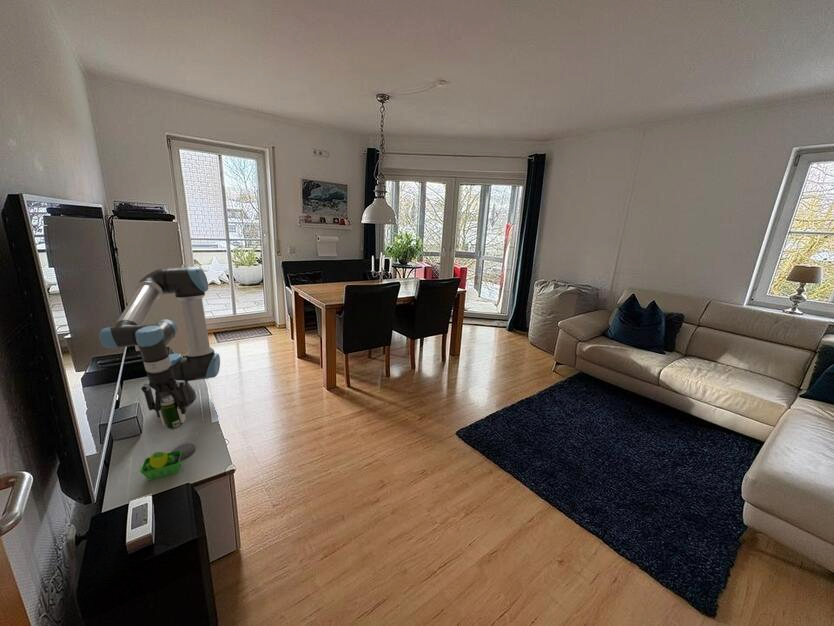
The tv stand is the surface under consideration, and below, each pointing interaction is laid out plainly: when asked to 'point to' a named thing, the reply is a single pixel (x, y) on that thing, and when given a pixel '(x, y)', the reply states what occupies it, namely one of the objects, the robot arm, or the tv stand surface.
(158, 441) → the tv stand surface
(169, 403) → the beer can
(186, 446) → the coaster
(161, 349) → the robot arm
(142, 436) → the tv stand surface
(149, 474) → the fruit basket
